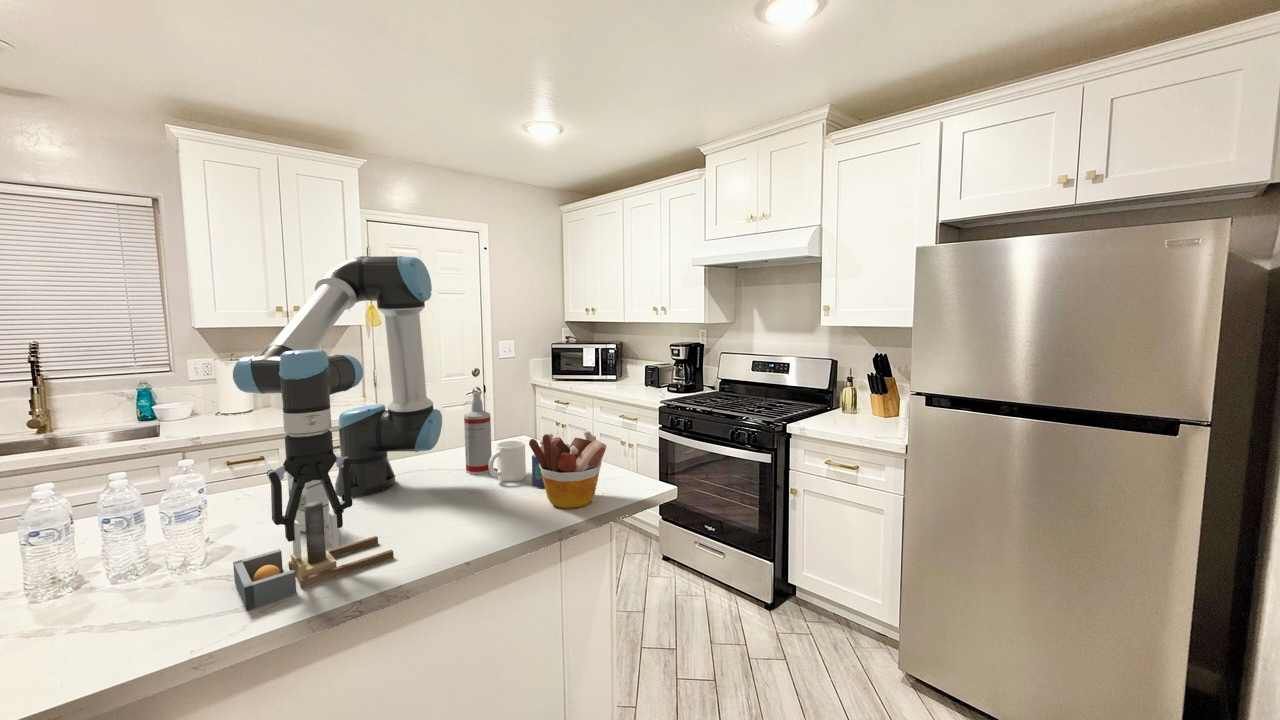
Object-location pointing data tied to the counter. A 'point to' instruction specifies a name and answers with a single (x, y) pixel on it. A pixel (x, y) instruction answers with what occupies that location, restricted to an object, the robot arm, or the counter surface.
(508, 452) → the mug
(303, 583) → the rails
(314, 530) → the carriage
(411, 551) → the counter surface
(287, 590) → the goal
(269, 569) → the ball
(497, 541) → the counter surface
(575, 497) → the bucket of meat
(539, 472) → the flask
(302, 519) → the syrup box
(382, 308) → the robot arm
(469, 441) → the spray bottle
